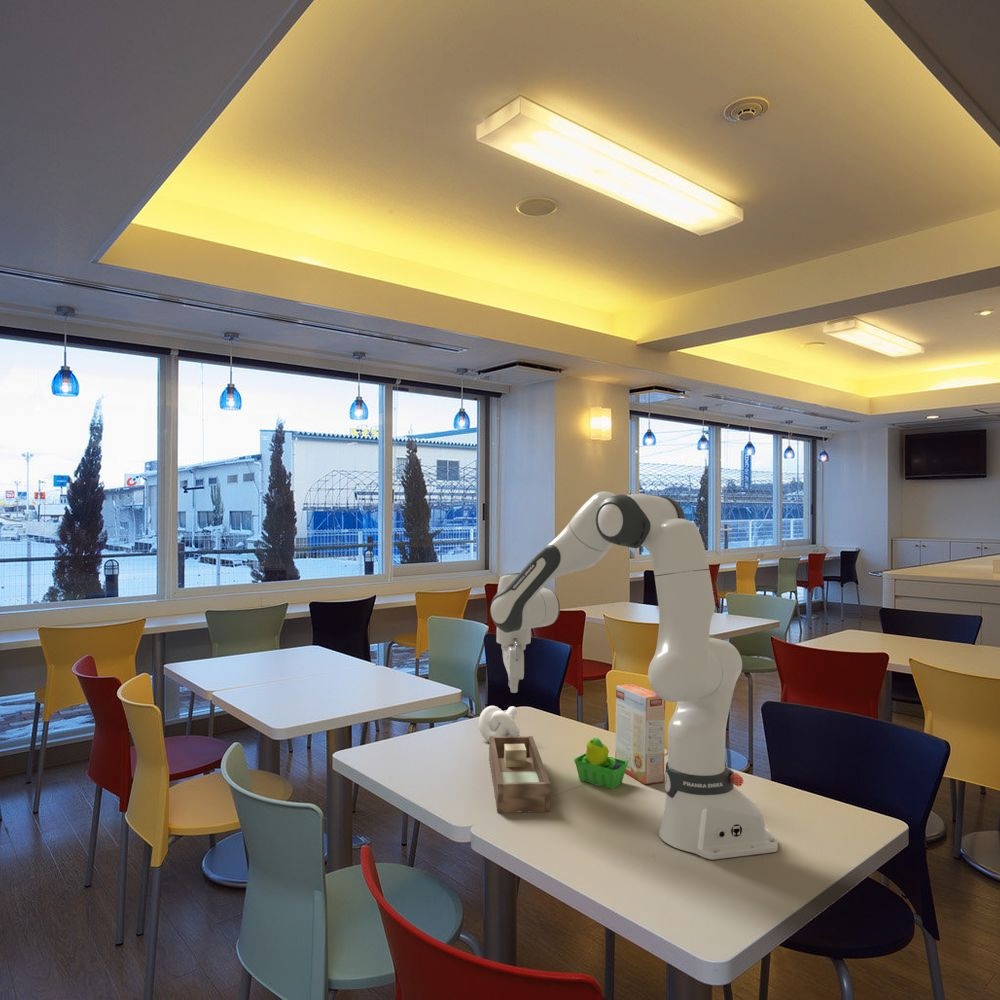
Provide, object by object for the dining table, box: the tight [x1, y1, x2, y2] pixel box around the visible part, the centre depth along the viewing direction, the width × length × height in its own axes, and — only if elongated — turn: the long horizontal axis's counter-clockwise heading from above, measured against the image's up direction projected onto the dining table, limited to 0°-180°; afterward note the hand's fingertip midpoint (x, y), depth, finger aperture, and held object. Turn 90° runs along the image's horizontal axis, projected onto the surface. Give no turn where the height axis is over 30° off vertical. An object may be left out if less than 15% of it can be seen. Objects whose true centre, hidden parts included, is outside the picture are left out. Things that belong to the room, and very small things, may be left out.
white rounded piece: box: [478, 705, 521, 742], centre depth 209 cm, size 11×12×9 cm
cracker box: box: [614, 683, 666, 785], centre depth 182 cm, size 14×6×21 cm, turn 22°
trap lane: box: [488, 735, 551, 813], centre depth 174 cm, size 11×34×6 cm, turn 4°
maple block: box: [504, 744, 526, 767], centre depth 179 cm, size 5×5×4 cm
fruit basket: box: [573, 737, 628, 790], centre depth 176 cm, size 11×9×11 cm
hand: (513, 689), depth 188 cm, fingers open, 4 cm apart
